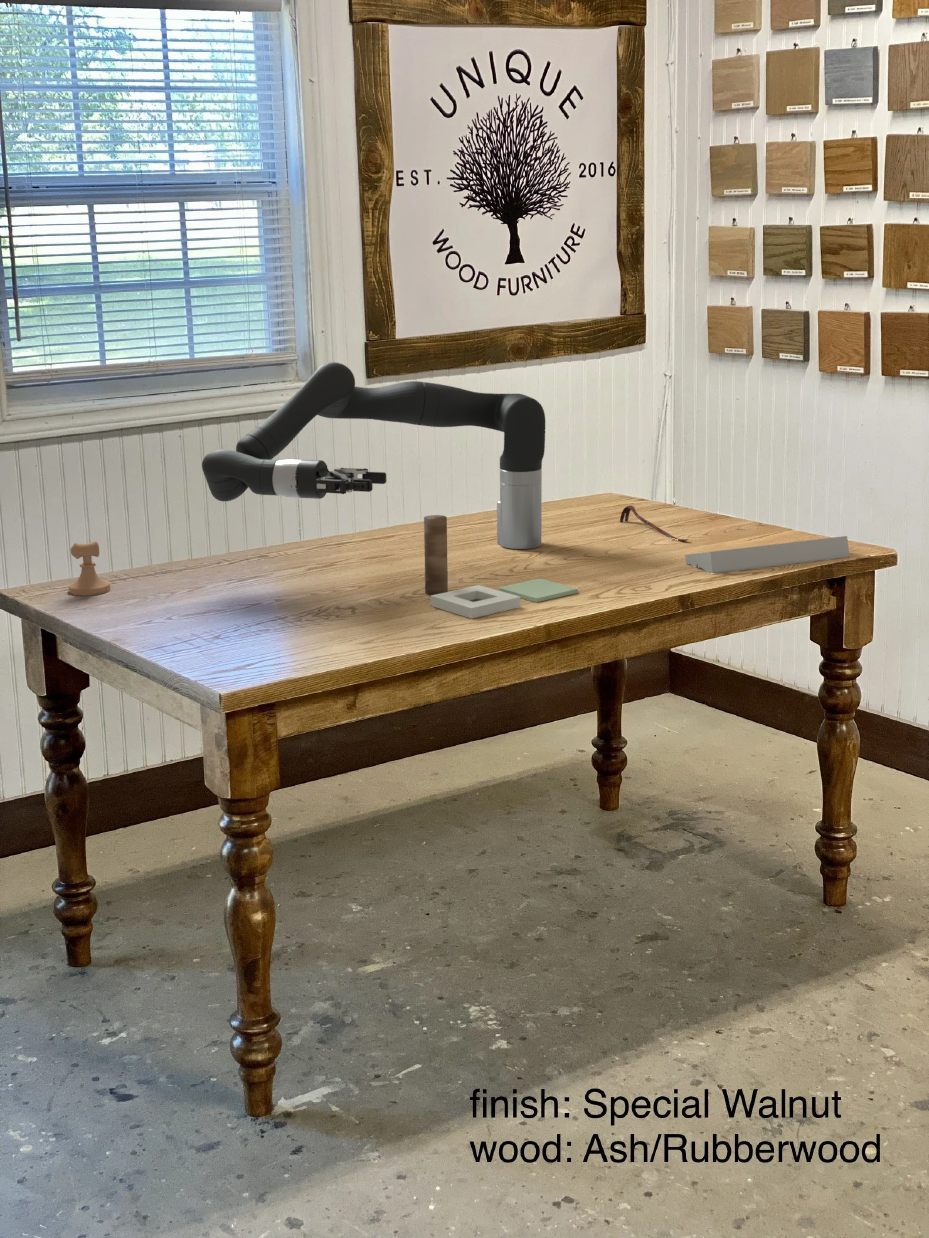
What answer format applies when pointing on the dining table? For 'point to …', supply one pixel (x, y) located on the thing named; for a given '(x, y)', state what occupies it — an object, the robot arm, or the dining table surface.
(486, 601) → the hole plate
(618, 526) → the dining table surface
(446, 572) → the walnut post
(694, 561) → the decorative molding
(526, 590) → the pad
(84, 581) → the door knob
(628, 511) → the crowbar
